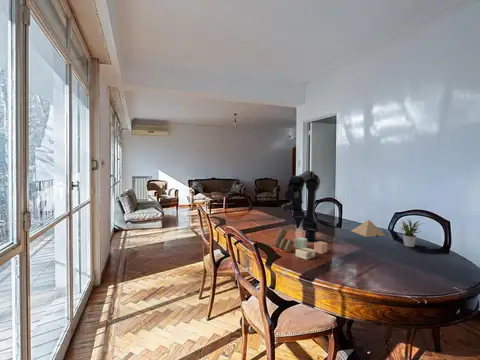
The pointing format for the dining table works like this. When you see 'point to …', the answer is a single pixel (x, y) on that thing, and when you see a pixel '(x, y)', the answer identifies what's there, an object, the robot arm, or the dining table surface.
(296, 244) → the sage cube
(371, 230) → the model pyramid
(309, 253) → the maple base
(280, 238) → the wooden block set
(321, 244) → the terracotta cube
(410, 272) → the dining table surface
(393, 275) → the dining table surface
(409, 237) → the house plant
